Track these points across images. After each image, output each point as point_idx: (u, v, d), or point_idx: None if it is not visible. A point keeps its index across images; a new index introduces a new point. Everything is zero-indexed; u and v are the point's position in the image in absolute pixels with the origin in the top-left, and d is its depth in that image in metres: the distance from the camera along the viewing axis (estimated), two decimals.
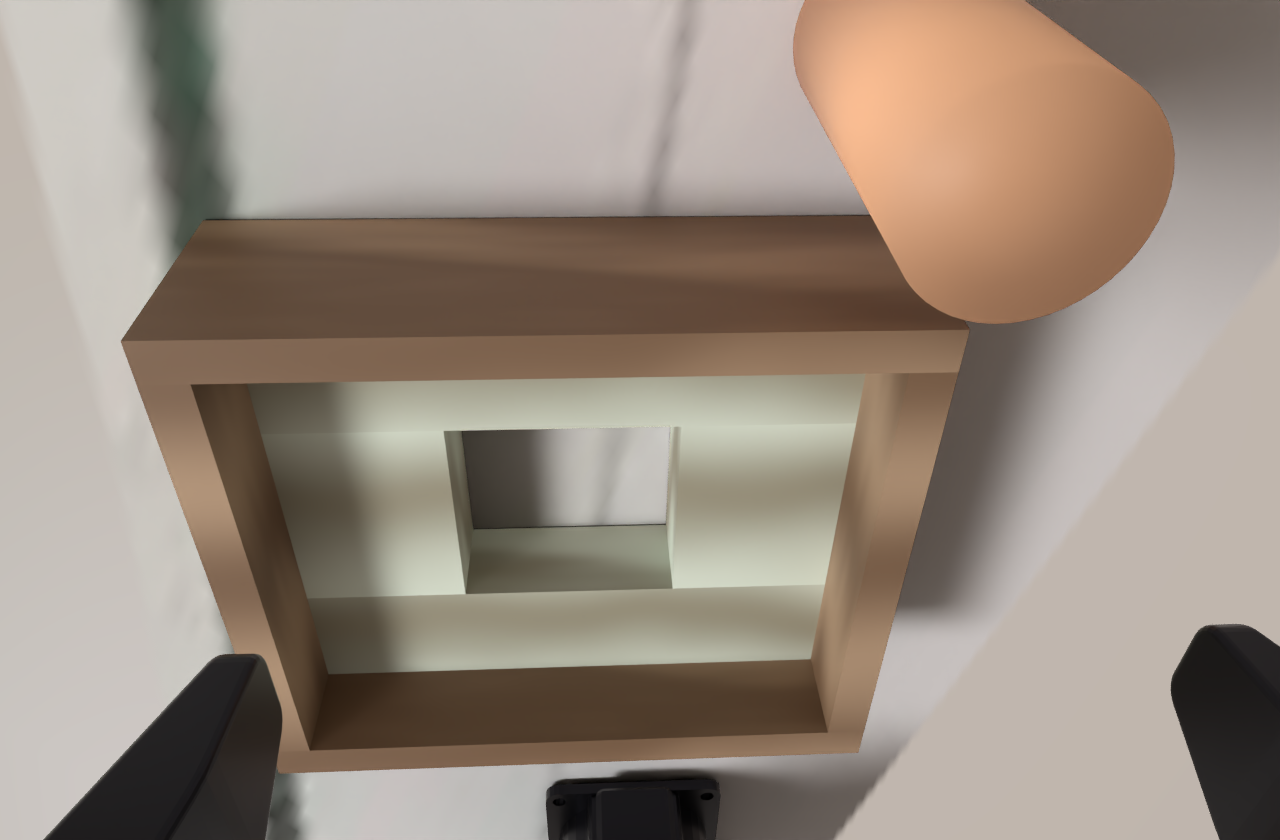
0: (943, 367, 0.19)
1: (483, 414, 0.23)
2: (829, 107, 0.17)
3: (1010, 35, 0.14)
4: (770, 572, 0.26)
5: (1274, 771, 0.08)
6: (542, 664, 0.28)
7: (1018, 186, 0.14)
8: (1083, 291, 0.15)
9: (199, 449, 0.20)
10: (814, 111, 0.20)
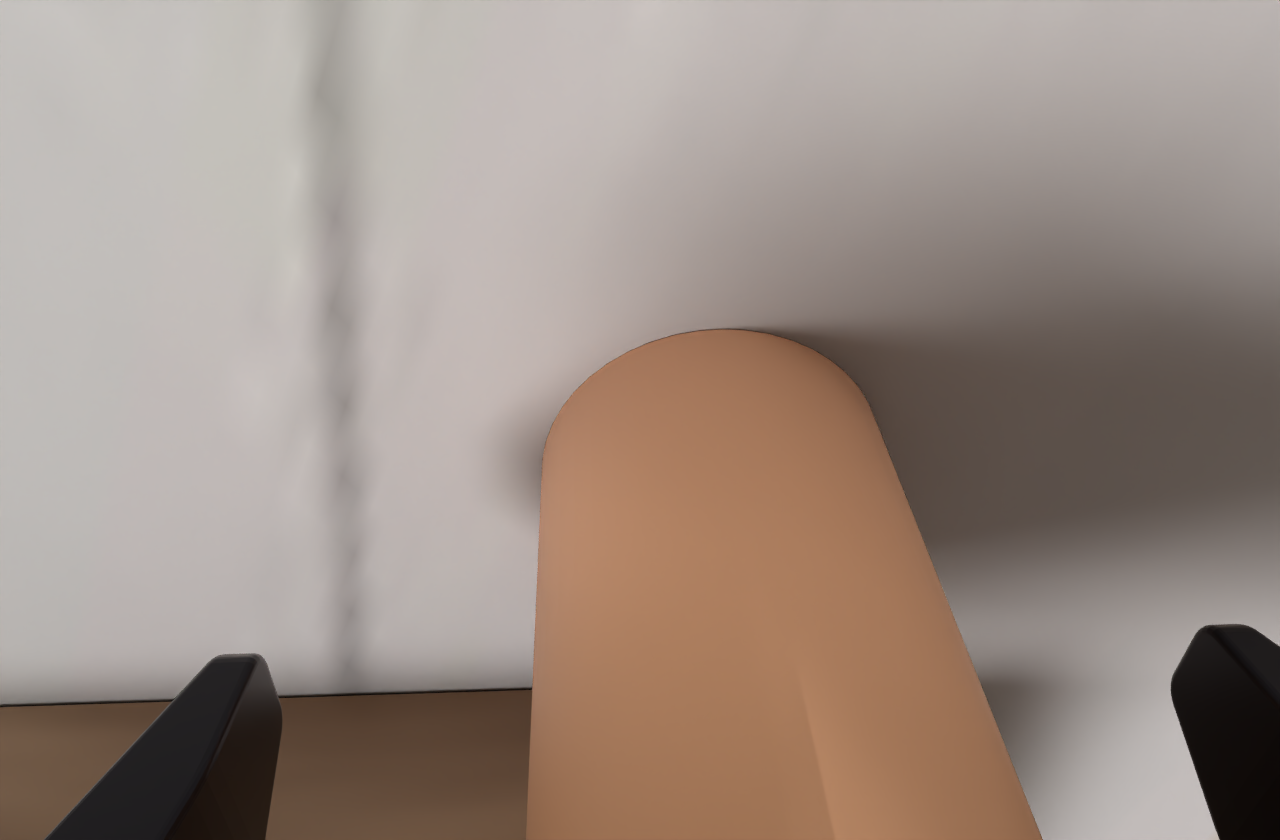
0: None
1: None
2: None
3: None
4: None
5: (1274, 771, 0.08)
6: None
7: None
8: None
9: None
10: None
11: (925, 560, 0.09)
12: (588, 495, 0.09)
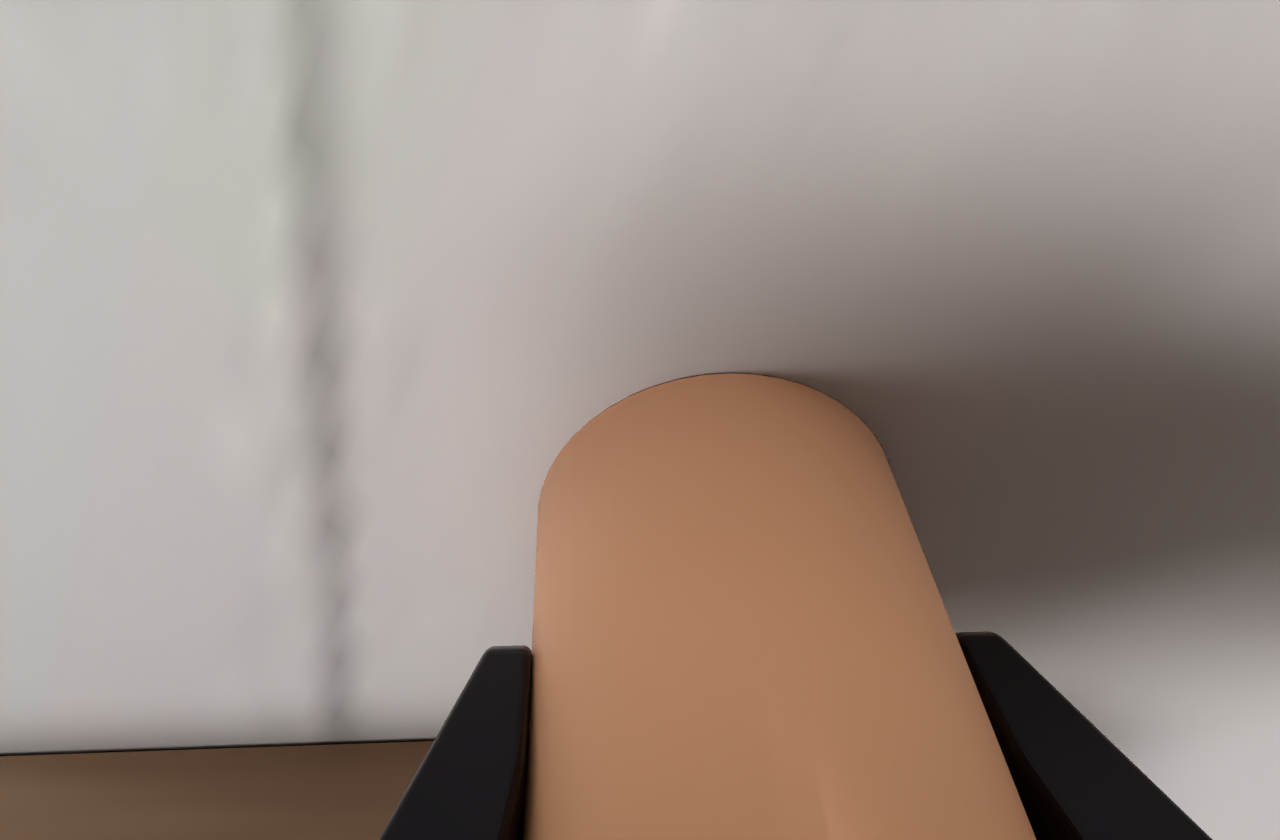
0: None
1: None
2: None
3: None
4: None
5: None
6: None
7: None
8: None
9: None
10: None
11: (947, 629, 0.08)
12: (586, 556, 0.09)
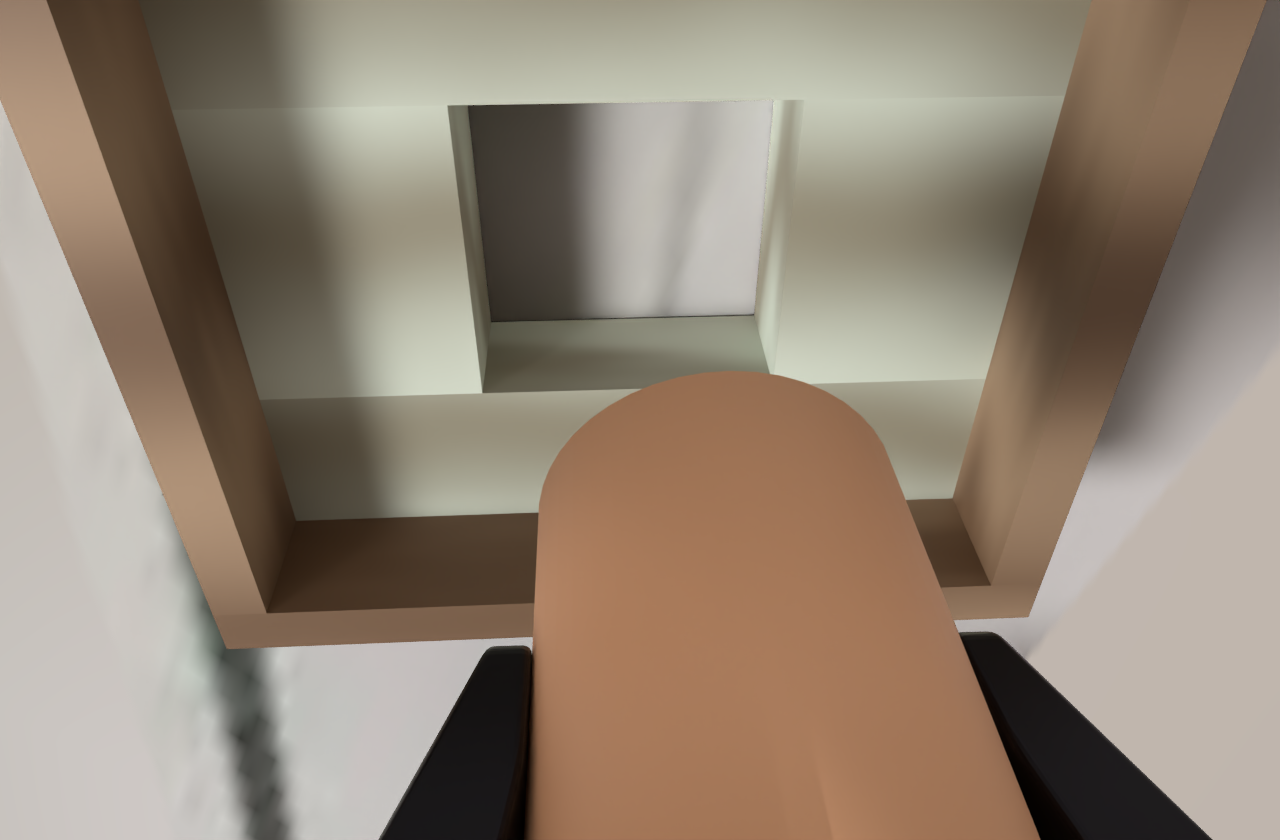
0: None
1: (507, 74, 0.15)
2: None
3: None
4: (911, 358, 0.19)
5: None
6: None
7: None
8: None
9: (47, 58, 0.12)
10: None
11: (949, 627, 0.08)
12: (587, 553, 0.09)
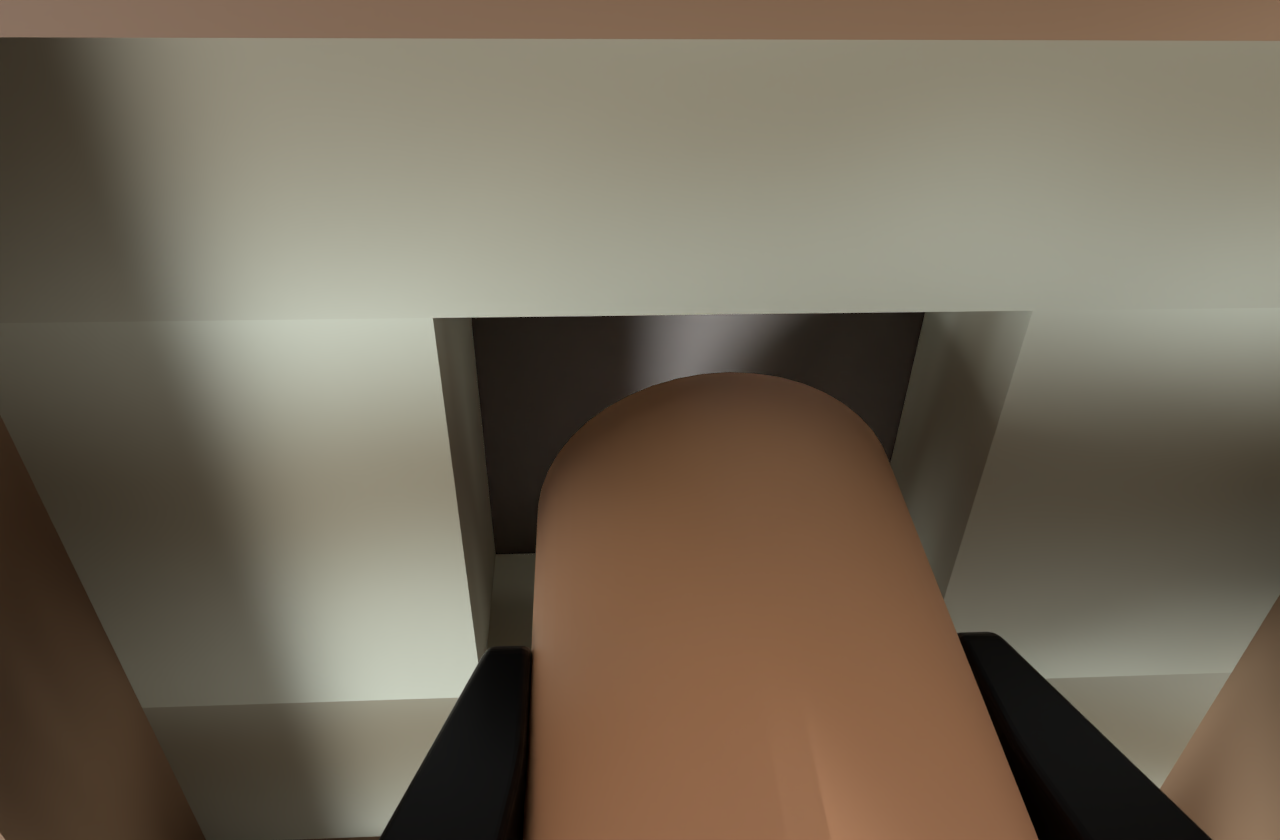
0: None
1: (537, 272, 0.09)
2: None
3: None
4: (1129, 649, 0.12)
5: None
6: None
7: None
8: None
9: None
10: None
11: (948, 629, 0.08)
12: (586, 555, 0.09)
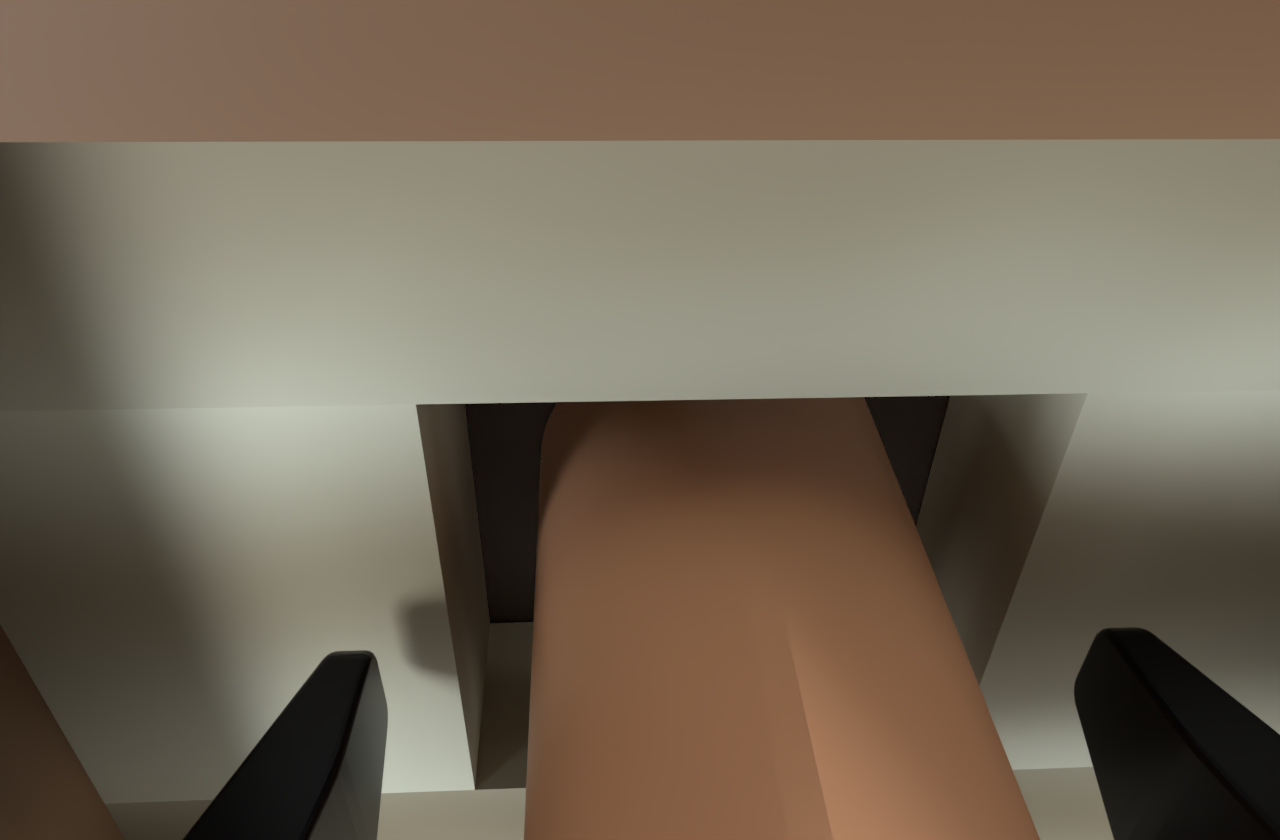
0: None
1: (532, 355, 0.08)
2: None
3: None
4: None
5: (1160, 776, 0.08)
6: None
7: None
8: None
9: None
10: None
11: (916, 542, 0.09)
12: (585, 479, 0.09)
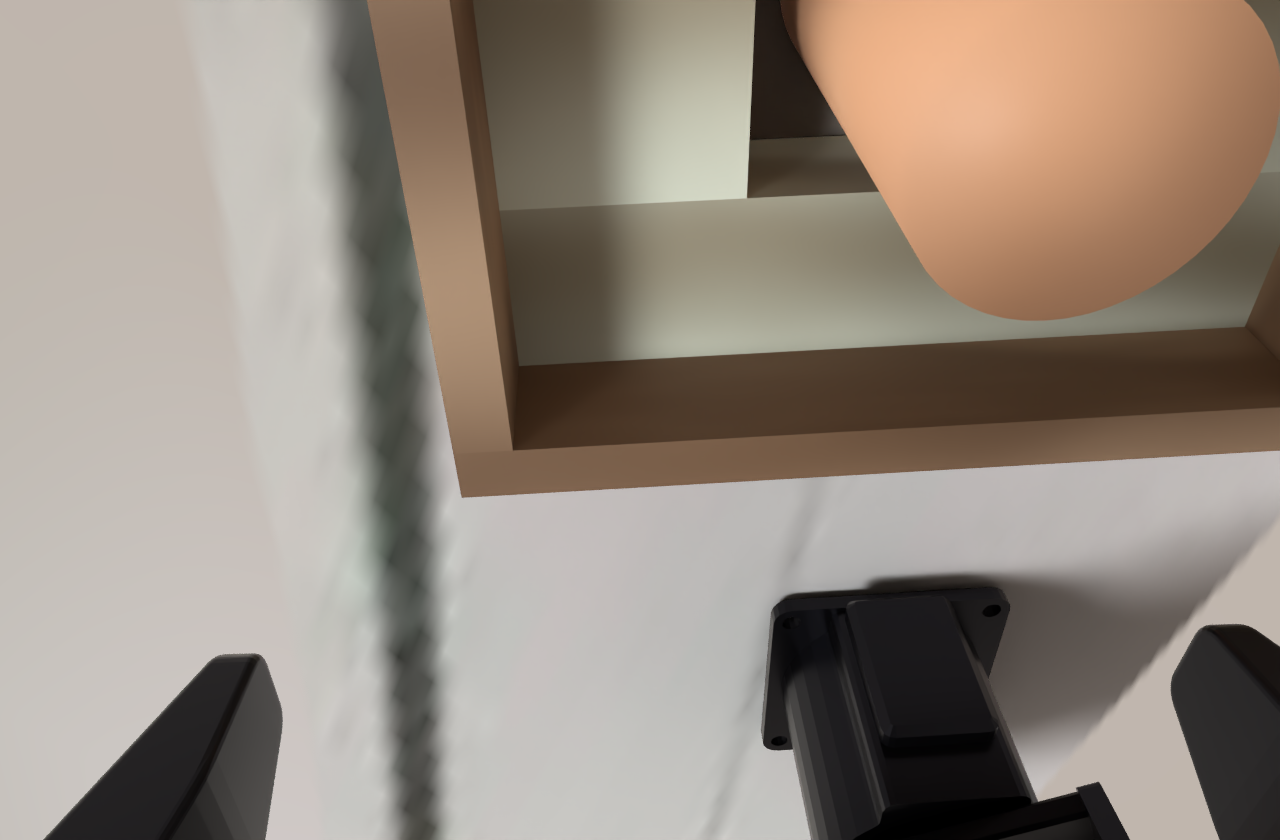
0: None
1: None
2: (822, 57, 0.14)
3: None
4: None
5: (1274, 771, 0.08)
6: (842, 341, 0.18)
7: (1071, 139, 0.10)
8: (1158, 274, 0.11)
9: None
10: (807, 67, 0.16)
11: None
12: None
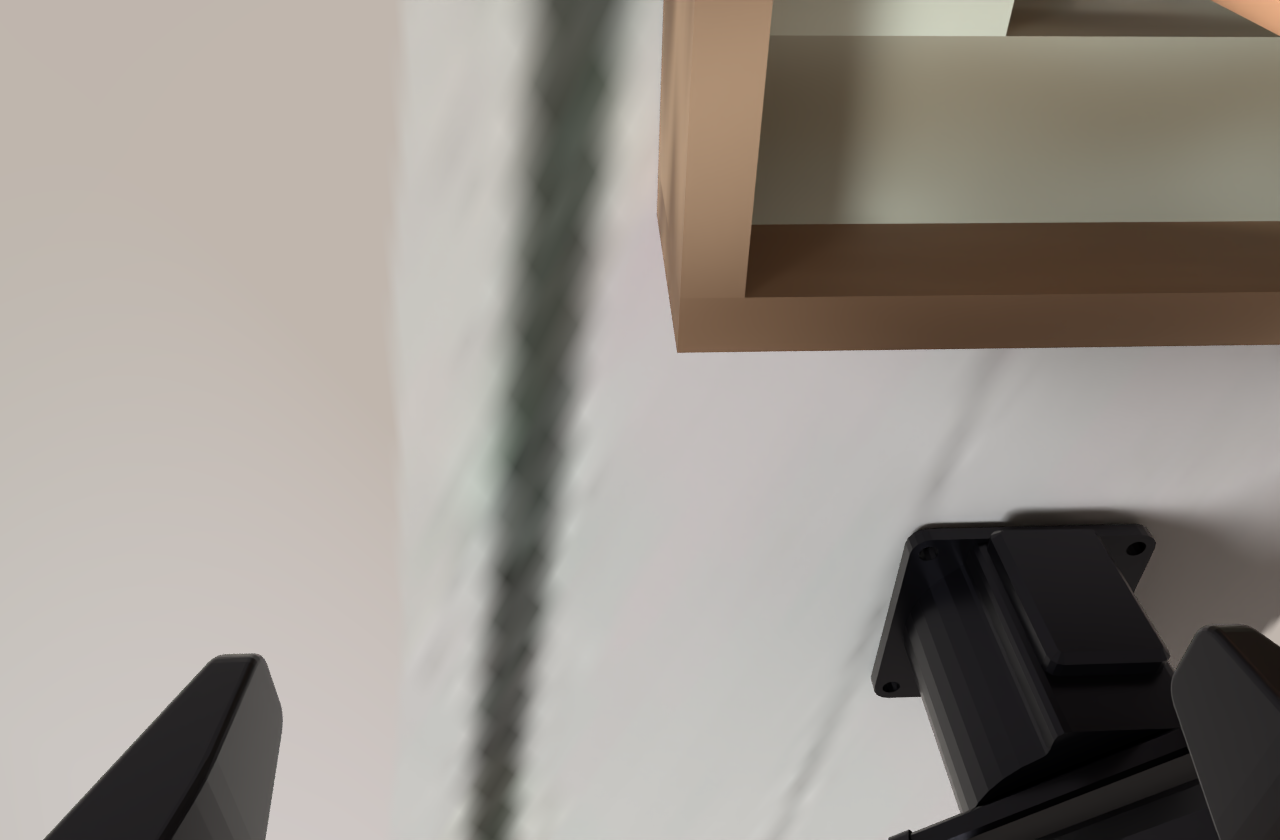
0: None
1: None
2: None
3: None
4: None
5: (1274, 771, 0.08)
6: (1071, 213, 0.17)
7: None
8: None
9: None
10: None
11: None
12: None
